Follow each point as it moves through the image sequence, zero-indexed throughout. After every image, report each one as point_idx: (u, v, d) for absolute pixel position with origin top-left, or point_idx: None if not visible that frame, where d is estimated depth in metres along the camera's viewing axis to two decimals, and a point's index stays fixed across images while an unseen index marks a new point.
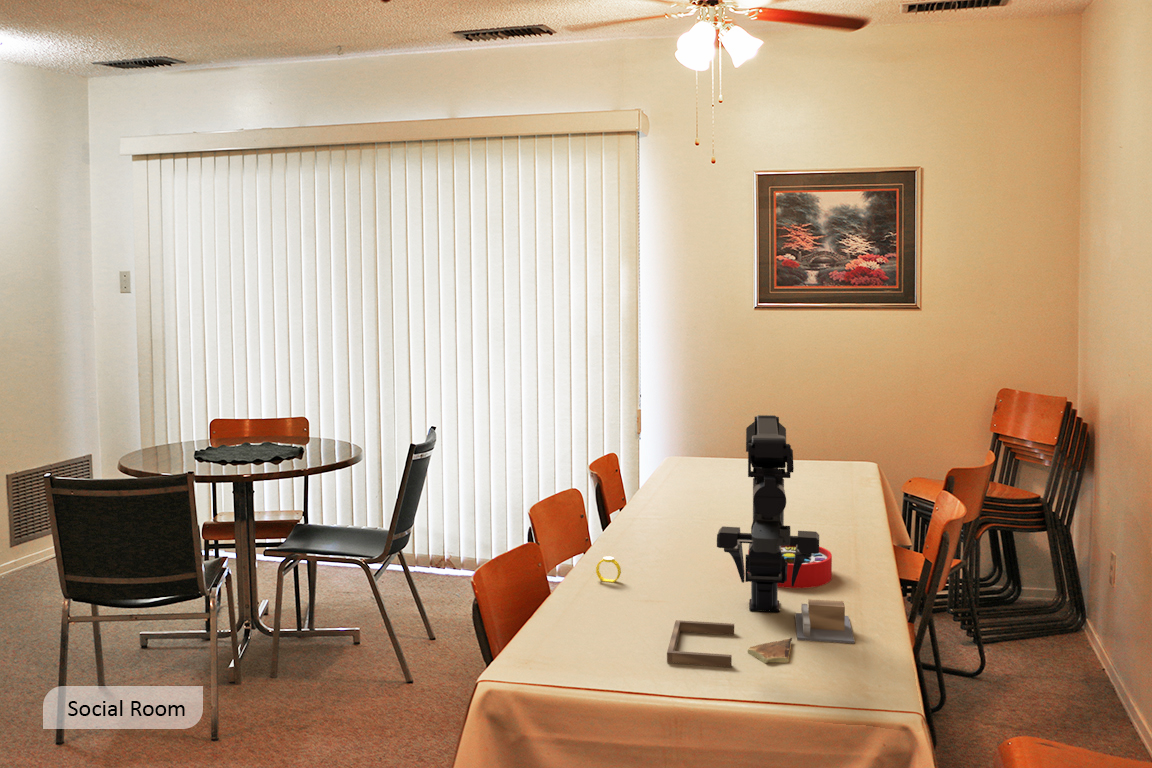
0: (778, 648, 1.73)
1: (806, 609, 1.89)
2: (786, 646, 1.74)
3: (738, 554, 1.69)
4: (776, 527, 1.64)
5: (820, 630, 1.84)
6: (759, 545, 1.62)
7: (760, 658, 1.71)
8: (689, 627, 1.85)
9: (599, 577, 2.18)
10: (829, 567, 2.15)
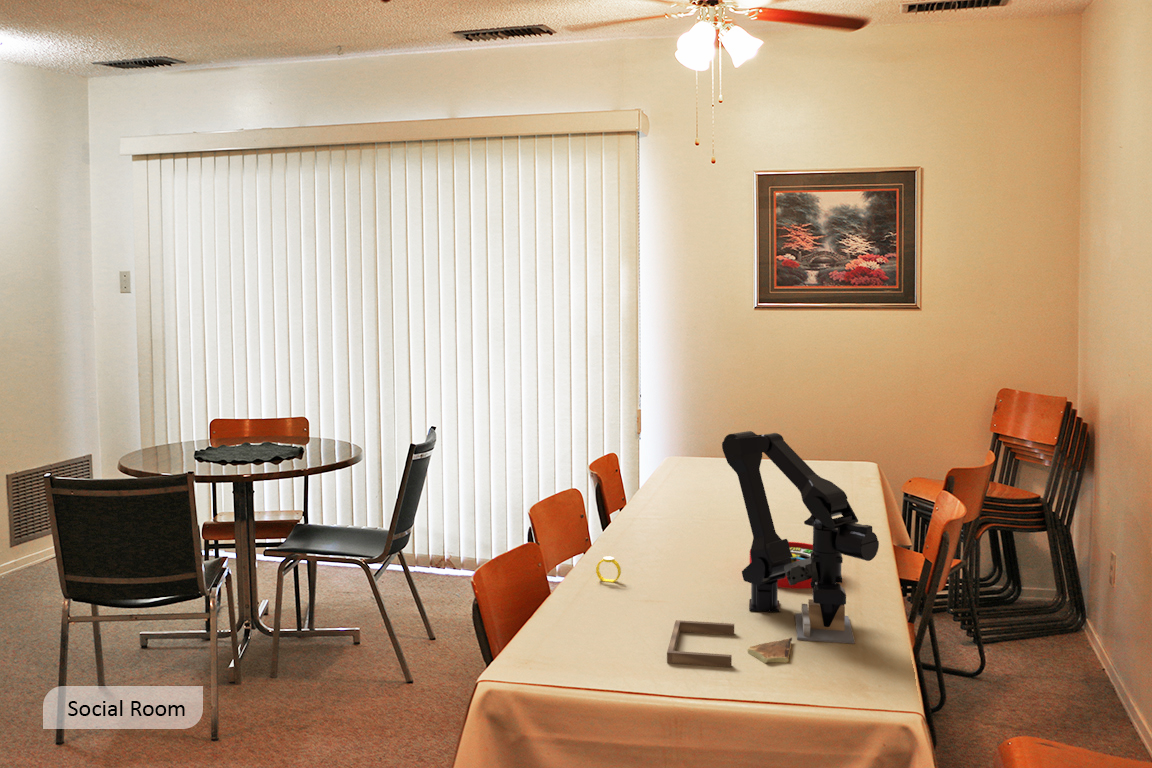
0: (778, 648, 1.73)
1: (806, 609, 1.89)
2: (786, 646, 1.74)
3: None
4: (801, 565, 1.84)
5: (820, 630, 1.84)
6: None
7: (760, 658, 1.71)
8: (689, 627, 1.85)
9: (599, 577, 2.18)
10: None
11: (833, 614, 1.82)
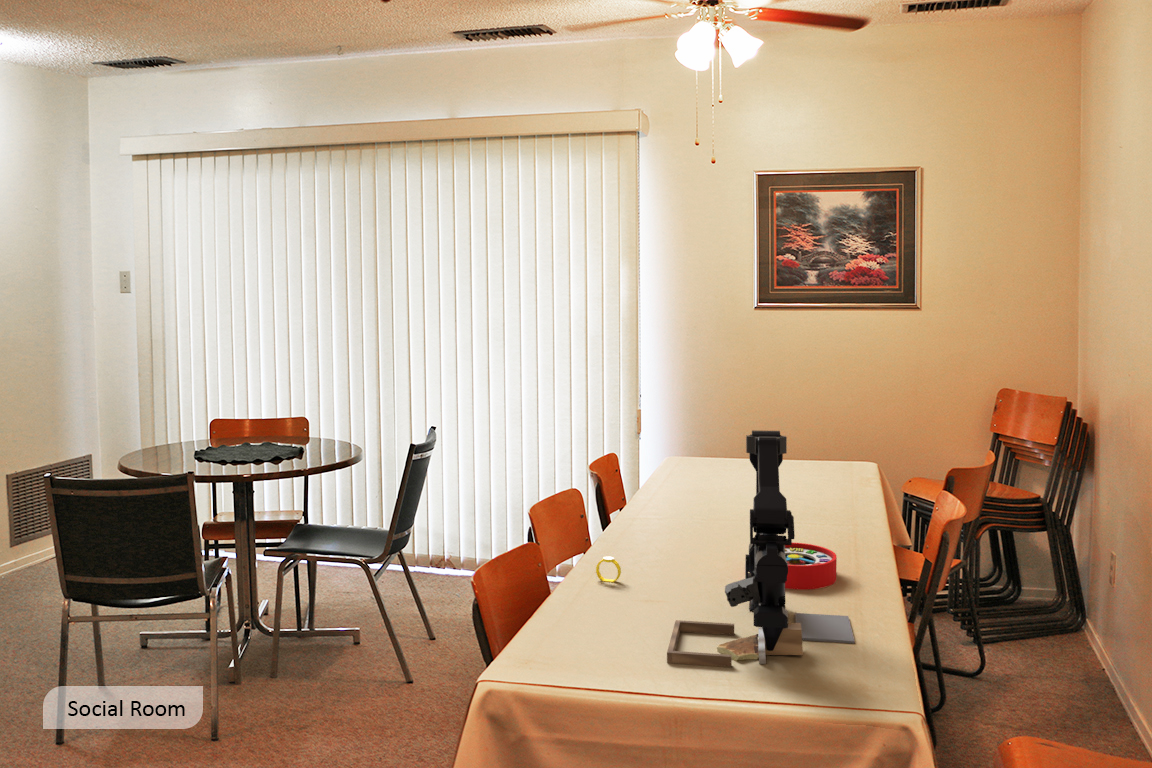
0: (747, 645, 1.75)
1: (763, 633, 1.77)
2: (755, 642, 1.76)
3: None
4: (742, 586, 1.72)
5: (820, 630, 1.84)
6: None
7: None
8: (689, 627, 1.85)
9: (599, 577, 2.18)
10: (834, 568, 2.14)
11: (777, 637, 1.71)
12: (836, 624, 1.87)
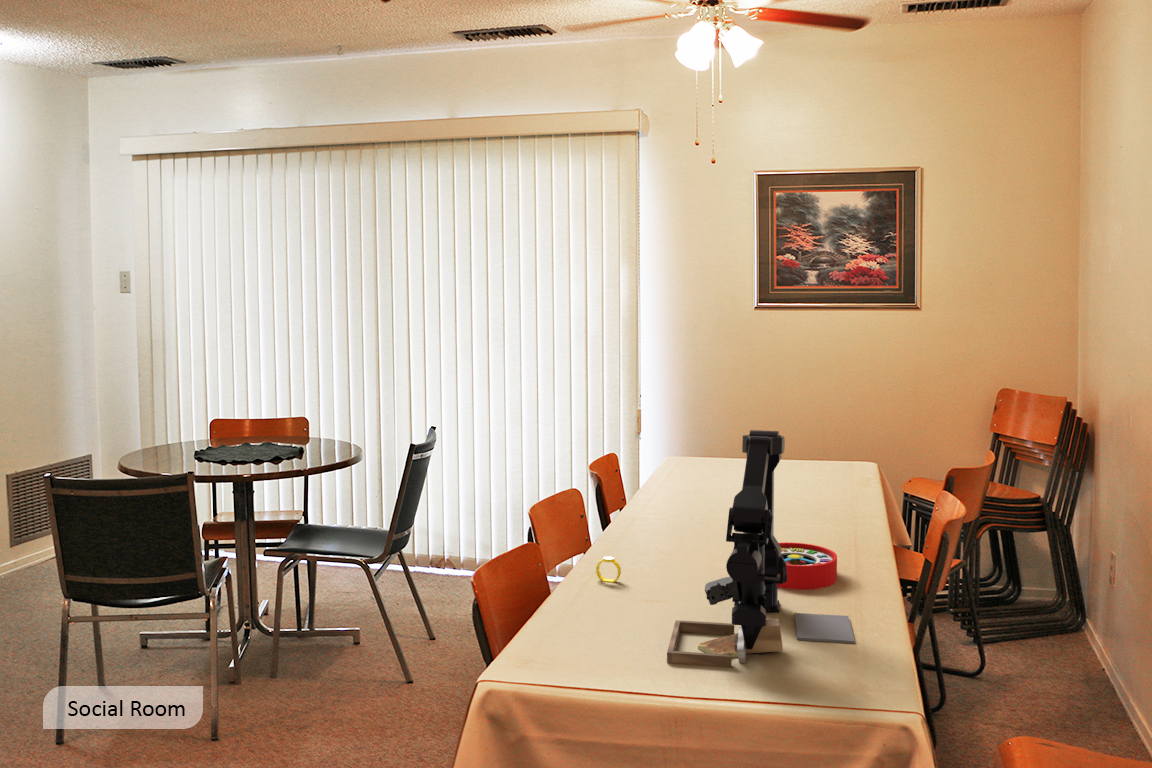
0: (728, 644, 1.76)
1: (742, 632, 1.78)
2: (735, 641, 1.77)
3: None
4: (722, 584, 1.73)
5: (820, 630, 1.84)
6: None
7: None
8: (689, 627, 1.85)
9: (599, 577, 2.18)
10: (834, 568, 2.14)
11: (756, 636, 1.72)
12: (836, 624, 1.87)
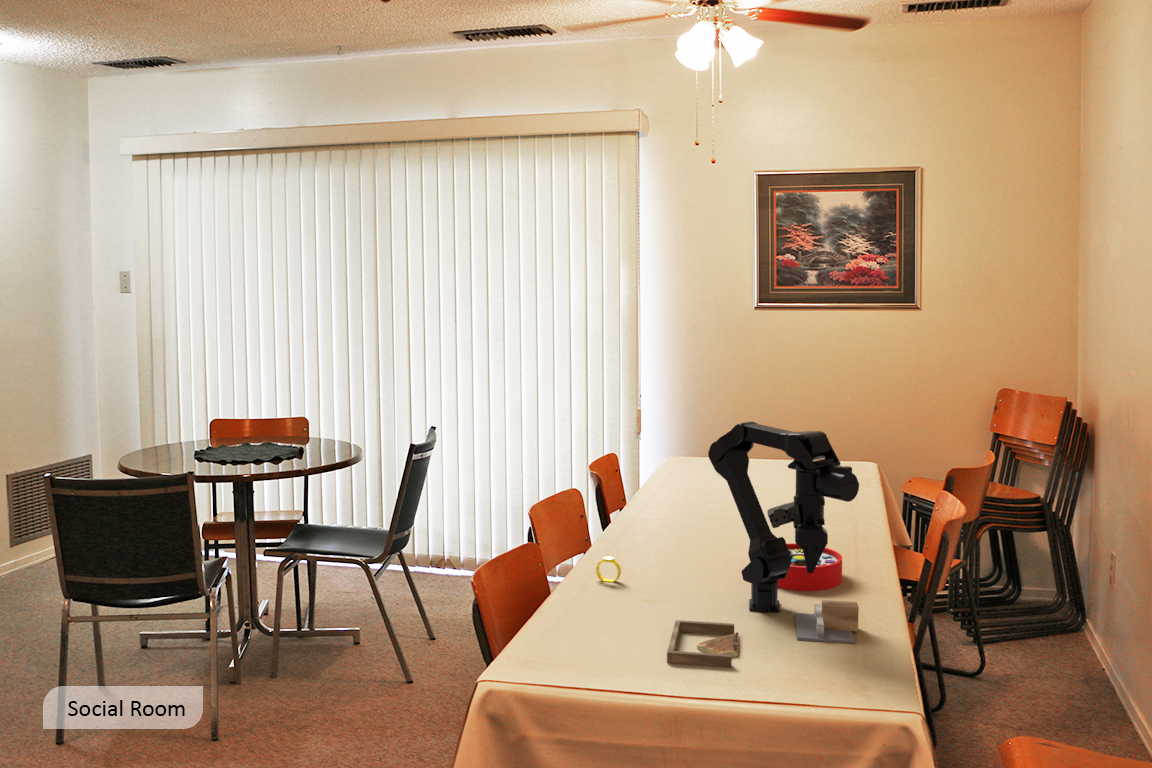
0: (727, 643, 1.76)
1: (819, 609, 1.88)
2: (734, 641, 1.77)
3: None
4: (784, 508, 1.85)
5: None
6: None
7: None
8: (689, 627, 1.85)
9: (599, 577, 2.18)
10: (840, 570, 2.13)
11: (817, 560, 1.81)
12: None
